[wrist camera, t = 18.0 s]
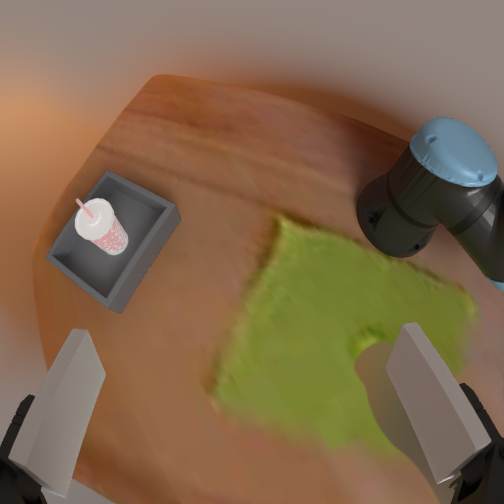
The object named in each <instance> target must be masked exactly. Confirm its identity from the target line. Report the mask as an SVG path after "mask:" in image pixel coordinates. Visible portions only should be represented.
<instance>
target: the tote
mask: <svg viewBox="0 0 504 504" xmlns="http://www.w3.org/2000/svg"><path fill="white" fill-rule="evenodd" d="M96 198H99V199H104V200H106V201H107V202H109V203H110V205H111V207H112V209H113V210H114V215H115V216H116V218H117V220H118V221H119V223H120V224H121V226H122V227H123V229H124V231H125V232H126V234H127V236H128V244H127V247H126V248H125V250H124V251H123V252H121V253H120V254H117V255H110V254H108V253H107V252H105V251H104V250H102V249H101V248H100V247H98V246H97V245H95V244H94V243H93V242H91V241H90V240H86V239H84V238H83V237H82V236H80V235H79V234H78V233H77V231H76V228H75V218H76V215H77V212H78V211H79V210H80V208H81V207H80V206H79V207H78V208H77V210H76V211H75V212H74V214H73V215H72V217H71V218H70V220H69V221H68V223H67V224H66V226H65V227H64V228H63V230H62V231H61V233H60V235H59V236H58V238H57V239H56V241H55V242H54V244H53V245H52V247H51V249H50V250H49V252H48V253H47V255H46V257H45V258H46V259H47V260H49V261H50V262H51V263H52V264H53V265H54V266H55V267H57V268H58V269H59V270H60V271H61V272H62V273H64V274H65V275H66V276H67V277H68V278H70V279H71V280H72V281H73V282H74V283H76V284H77V285H78V286H79V287H81V288H82V289H83V290H84V291H86V292H87V293H88V294H90V295H91V296H92V297H93V298H95V299H96V300H97V301H99V302H100V303H101V304H103V305H104V306H105V307H107V308H108V309H110V310H112V311H115V312H117V313H120V314H121V313H122V311H123V310H124V308H125V306H126V305H127V303H128V301H129V300H130V298H131V296H132V295H133V293H134V291H135V290H136V288H137V287H138V285H139V283H140V282H141V280H142V279H143V277H144V275H145V274H146V272H147V271H148V269H149V267H150V266H151V264H152V263H153V261H154V260H155V258H156V257H157V255H158V254H159V252H160V250H161V249H162V247H163V246H164V244H165V243H166V241H167V240H168V238H169V237H170V235H171V234H172V232H173V231H174V229H175V228H176V227H177V225H178V224H179V222H180V221H181V217H180V215H179V212H178V209H177V207H176V205H175V204H173V203H171V202H169V201H167V200H166V199H164V198H162V197H160V196H158V195H156V194H154V193H152V192H150V191H148V190H146V189H144V188H142V187H140V186H138V185H136V184H134V183H133V182H131V181H129V180H127V179H125V178H123V177H121V176H119V175H117V174H115V173H113V172H111V171H109V170H106V172H105V173H104V174H103V175H102V177H101V178H100V179H99V180H98V182H97V183H96V184H95V185H94V187H93V188H92V189H91V191H90V192H89V193H88V195H87V196H86V197H85V199H84V200H83V201H82V203H83V204H85V203H86V202H88V201H89V200H92V199H96Z"/></svg>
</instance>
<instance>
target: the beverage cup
mask: <svg viewBox="0 0 504 504" xmlns="http://www.w3.org/2000/svg"><path fill="white" fill-rule="evenodd" d="M76 202H77V203H78V204H79V205H80V207H81V208H80V210H79V211H78V212H77V215H76V218H75V228H76V231H77V233H78V234H79V235H80V236H82V237H83V238H84V239H86V240H90V241H91V242H93V243H94V244H95V245H97V246H98V247H100V248H101V249H102V250H104V251H105V252H107V253H108V254H110V255H117V254H120V253H121V252H123V251H124V250H125V248H126V247H127V244H128V236H127V234H126V232H125V231H124V229H123V227H122V226H121V224H120V223H119V221H118V220H117V218H116V216H115V215H114V210H113V209H112V207H111V205H110V203H109V202H107V201H106V200H104V199H99V198H96V199H92V200H89V201H88V202H86V203H85V204H83V203H82V202H81V201H80V200H79V199H76Z"/></svg>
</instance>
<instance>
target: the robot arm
mask: <svg viewBox="0 0 504 504" xmlns="http://www.w3.org/2000/svg"><path fill="white" fill-rule="evenodd" d="M497 170H498V165H497V159H496V157H495V154H494V152H492V151H491V150H490V146H489V144H488V143H487V142H486V141H485V139H484V138H483V137H482V136H481V135H480V134H479V133H478V132H476V131H475V130H474V129H473V128H471V127H470V126H468V125H467V124H465V123H463V122H461V121H459V120H456V119H453V118H448V117H435V118H432V119H430V120H428V121H427V122H426V123H425V124H424V125H423V126H422V128H421V129H420V130H419V131H418V132H417V133H415V134H414V135H413V137H412V138H411V141H410V144H409V146H408V147H407V149H406V150H405V151H404V153H403V154H402V155H401V157H400V158H399V159H398V161H397V162H396V164H395V165H394V166H393V168H392V169H391V170H390V172H388V173H387V174H385V175H383V176H381V177H379V178H377V179H375V180H373V181H372V182H370V183H369V184H368V185H367V186H366V188H365V189H364V191H363V192H362V193H361V195H360V197H359V200H358V204H357V215H358V220H359V223H360V226H361V228H362V230H363V232H364V234H365V236H366V237H367V238H368V240H369V241H370V242H371V243H372V244H373V245H374V246H375V247H376V248H377V249H379V250H380V251H382V252H383V253H385V254H388V255H390V256H393V257H399V258H405V257H410V256H412V255H414V254H416V253H417V252H419V251H420V250H422V249H423V248H424V247H425V246H426V245H427V244H428V242H429V241H430V239H431V237H432V235H433V233H434V231H435V229H436V227H437V225H438V224H439V223H442V224H443V226H444V227H445V228H446V229H447V230H448V231H449V232H450V233H451V234H452V235H453V237H454V238H455V239H456V240H457V241H458V242H459V244H460V245H461V246H462V247H463V248H464V250H465V251H466V252H467V253H468V255H469V256H470V257H471V258H472V260H473V261H474V262H475V263H476V265H477V266H478V267H479V269H480V270H481V271H482V273H483V274H484V276H485V277H486V278H487V279H489V280H490V281H491V282H492V283H493V285H494V286H495V287H496V288H498V289H499V290H501V291H503V292H504V182H503V181H502V180H501V179H500V177H499V176H498V175H497ZM385 369H386V371H387V373H388V375H389V377H390V379H391V381H392V383H393V385H394V387H395V389H396V392H397V394H398V396H399V398H400V400H401V402H402V404H403V407H404V409H405V411H406V413H407V415H408V417H409V420H410V422H411V424H412V426H413V429H414V431H415V433H416V435H417V437H418V440H419V442H420V445H421V447H422V449H423V451H424V454H425V456H426V459H427V461H428V463H429V466H430V468H431V471H432V473H433V476H434V478H435V481H436V484H438V483H441V482H443V481H445V480H448V479H450V478H452V477H453V476H454V475H456V474H457V473H458V472H459V471H461V474H462V475H461V476H459V477H458V478H457V479H456V480H455V481H453V482H452V483H451V484H450V486H449V488H452V487H453V486H455V485H456V484H457V486H456V487H455V488H454V489H455V493H454V496H453V499H452V501H451V504H504V438H502V437H501V435H500V434H499V432H498V431H497V429H496V427H495V425H494V424H493V422H492V420H491V419H490V417H489V415H488V413H487V412H486V410H485V409H483V405H482V404H481V402H479V399H478V397H477V396H476V394H475V392H474V391H473V390H472V389H471V388H470V387H469V386H468V385H466V384H465V383H462V384H458V383H457V381H456V379H455V378H454V376H453V375H452V373H451V372H450V370H449V369H448V367H447V366H446V364H445V363H444V361H443V360H442V358H441V357H440V355H439V354H438V352H437V351H436V349H435V348H434V346H433V345H432V343H431V342H430V341H429V339H428V338H427V336H426V335H425V333H424V332H423V331H422V329H421V328H420V326H419V325H418V324H417V322H416V323H408V324H402V327H401V330H400V333H399V335H398V338H397V341H396V343H395V346H394V348H393V351H392V353H391V356H390V359H389V361H388V363H387V366H386V368H385ZM105 376H106V373H105V371H104V369H103V366H102V364H101V362H100V359H99V357H98V355H97V352H96V350H95V347H94V345H93V342H92V339H91V337H90V334H89V331H88V330H84V329H74V328H73V330H72V331H71V333H70V335H69V336H68V338H67V340H66V341H65V343H64V345H63V346H62V348H61V350H60V352H59V353H58V355H57V357H56V359H55V360H54V362H53V364H52V366H51V368H50V370H49V371H48V373H47V375H46V377H45V379H44V381H43V383H42V385H41V386H40V389H39V391H38V392H37V394H36V396H33V395H28V396H27V397H26V398H25V399H24V400H23V401H22V402H21V403H20V405H19V407H18V409H17V411H16V415H14V417H13V419H12V423H11V424H10V426H9V428H8V430H7V433H6V435H5V437H4V439H3V441H2V444H1V446H0V504H47V502H46V500H45V498H44V495H43V494H42V492H41V487H43V488H45V489H46V490H48V491H49V492H51V493H53V494H56V495H59V496H61V497H64V498H66V497H67V494H68V490H69V486H70V482H71V478H72V475H73V471H74V468H75V464H76V461H77V457H78V454H79V451H80V448H81V444H82V441H83V438H84V435H85V432H86V429H87V426H88V423H89V420H90V417H91V414H92V411H93V409H94V406H95V403H96V400H97V397H98V395H99V392H100V389H101V387H102V384H103V381H104V379H105Z"/></svg>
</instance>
